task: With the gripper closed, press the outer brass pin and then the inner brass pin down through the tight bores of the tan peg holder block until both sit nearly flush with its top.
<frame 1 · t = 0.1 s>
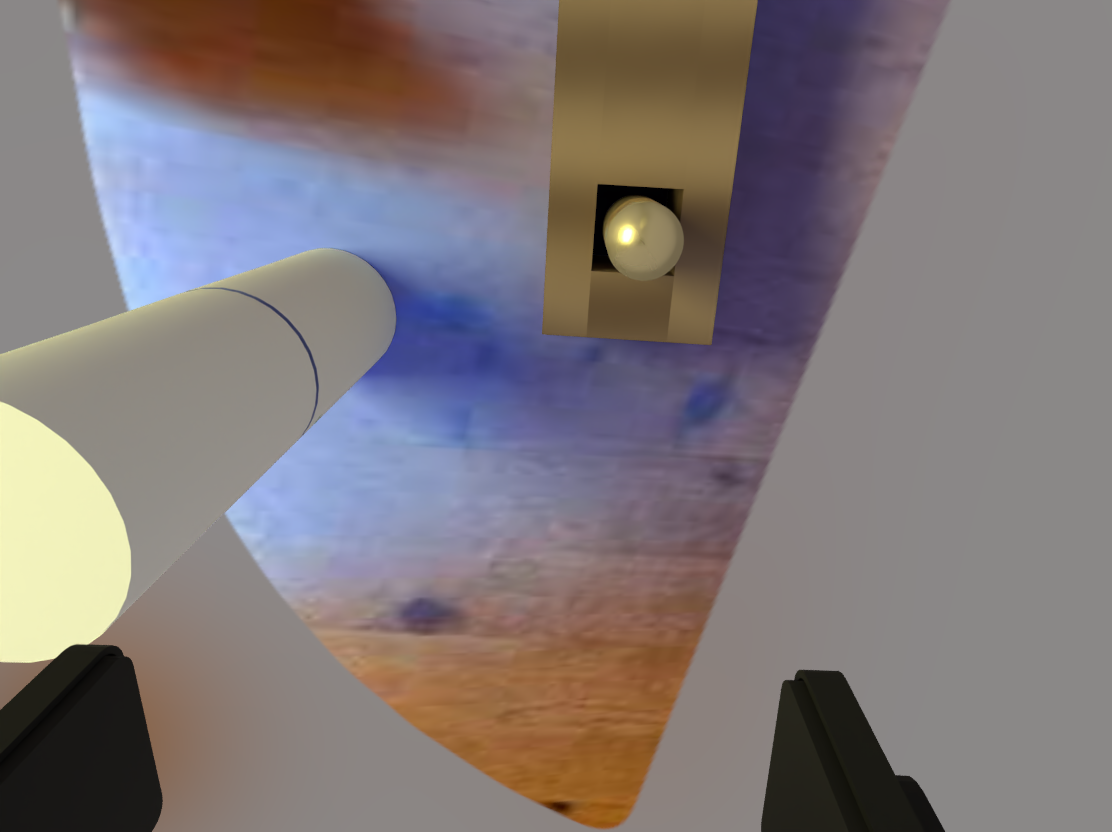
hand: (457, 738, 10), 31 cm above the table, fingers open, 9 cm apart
tan peg holder block: (641, 73, 35), on the table
cylindrical container: (333, 312, 40), on the table
outer brass pin: (639, 234, 31), point 7 cm above the table, slide at 0.0 cm
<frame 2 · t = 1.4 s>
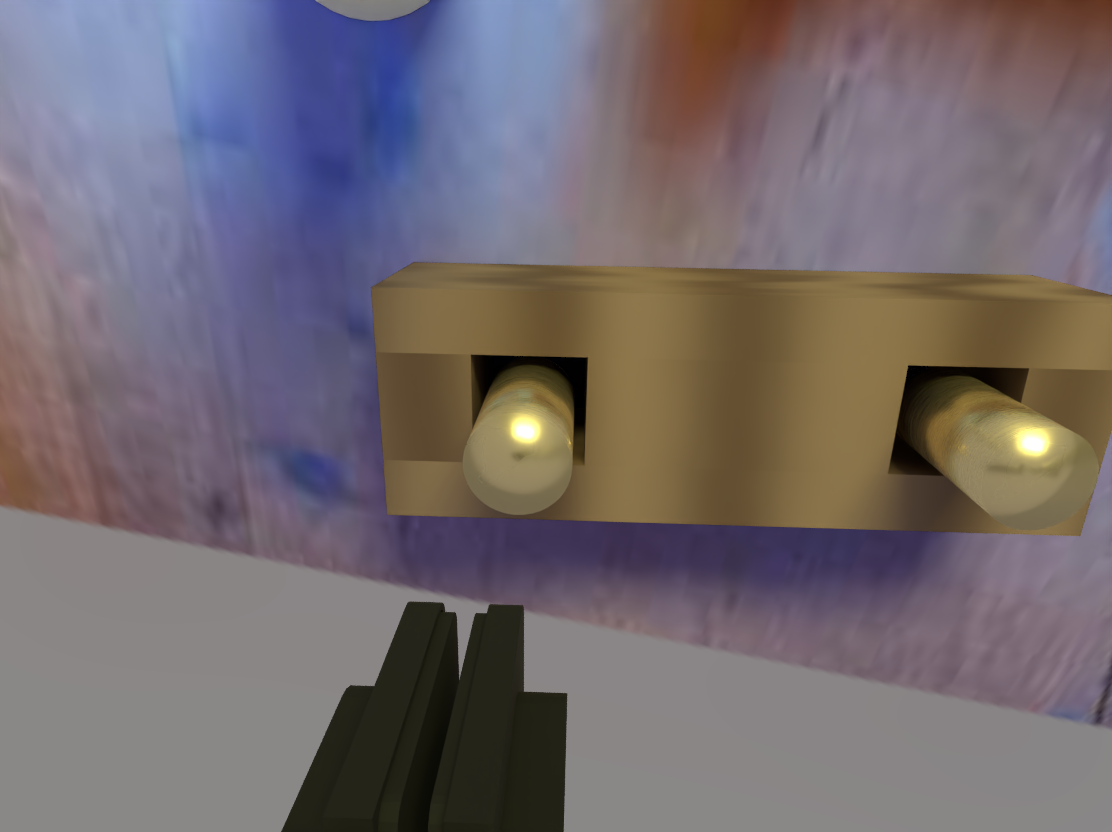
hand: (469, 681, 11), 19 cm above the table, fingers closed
tan peg holder block: (710, 367, 29), on the table
outer brass pin: (525, 427, 22), point 8 cm above the table, slide at 0.0 cm
inner brass pin: (980, 439, 22), point 7 cm above the table, slide at 0.0 cm
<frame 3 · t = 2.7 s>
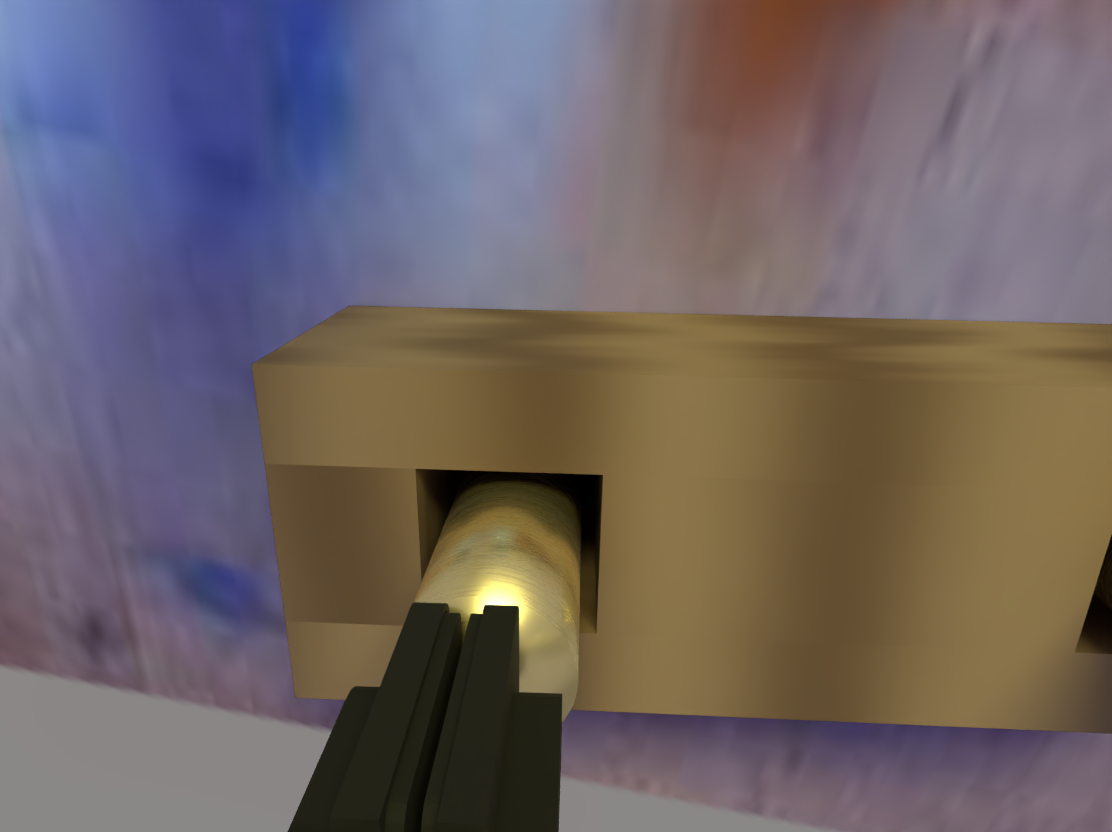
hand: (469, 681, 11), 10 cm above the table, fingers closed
tan peg holder block: (774, 454, 20), on the table
outer brass pin: (504, 576, 14), point 7 cm above the table, slide at 0.7 cm, touching gripper
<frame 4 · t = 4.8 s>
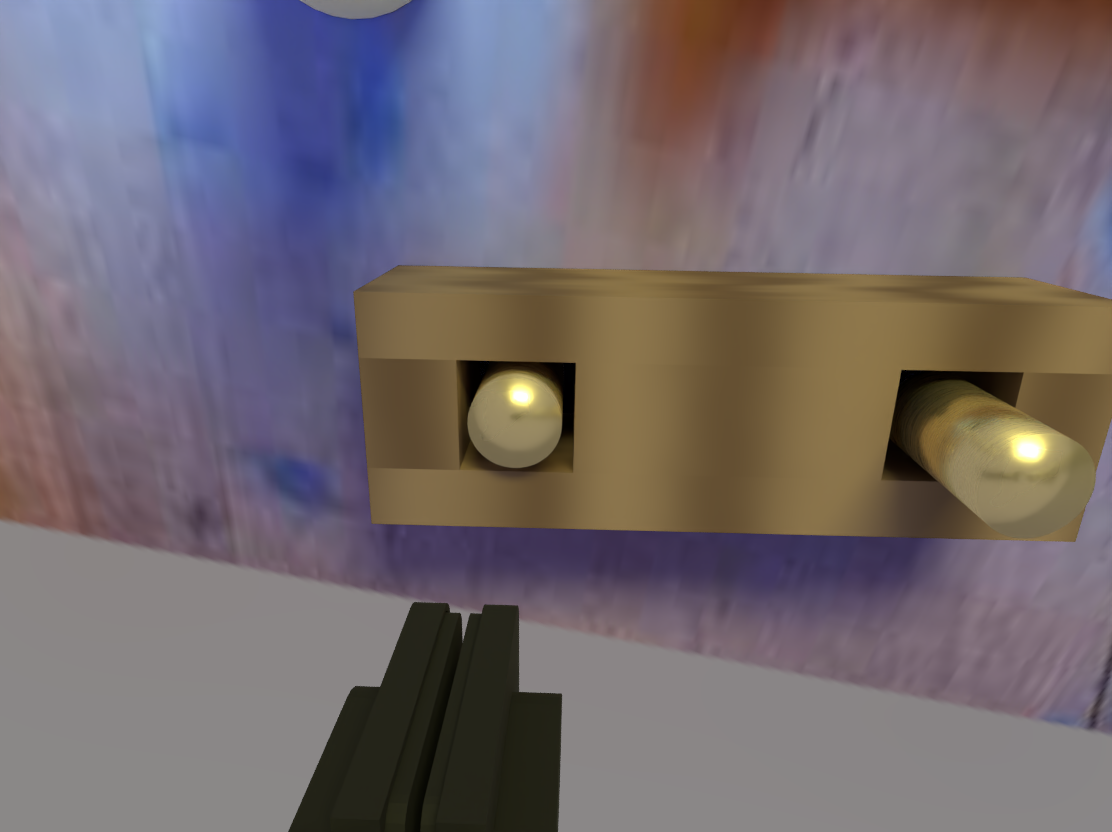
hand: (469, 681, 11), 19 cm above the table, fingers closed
tan peg holder block: (700, 371, 29), on the table
outer brass pin: (521, 395, 25), point 4 cm above the table, slide at 3.9 cm
inner brass pin: (975, 445, 22), point 7 cm above the table, slide at 0.0 cm
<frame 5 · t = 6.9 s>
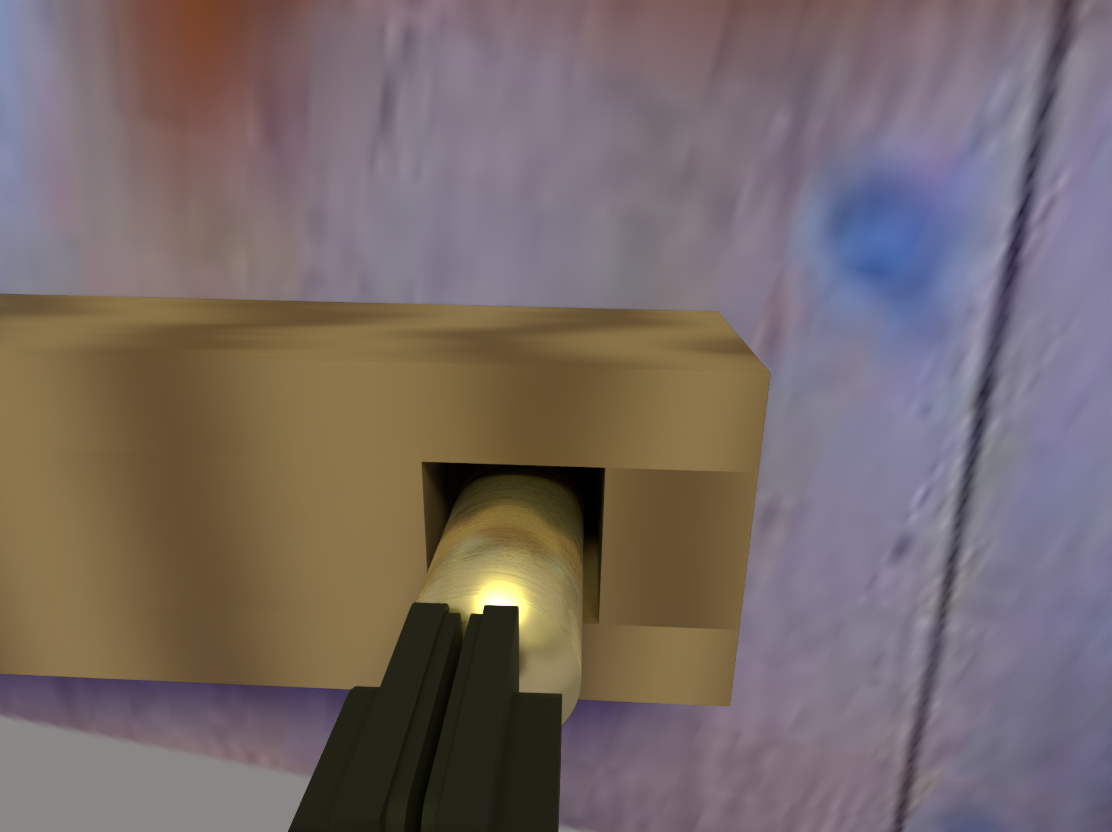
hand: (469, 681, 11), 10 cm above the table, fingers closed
tan peg holder block: (299, 434, 21), on the table
inner brass pin: (507, 575, 14), point 7 cm above the table, slide at 0.4 cm, touching gripper
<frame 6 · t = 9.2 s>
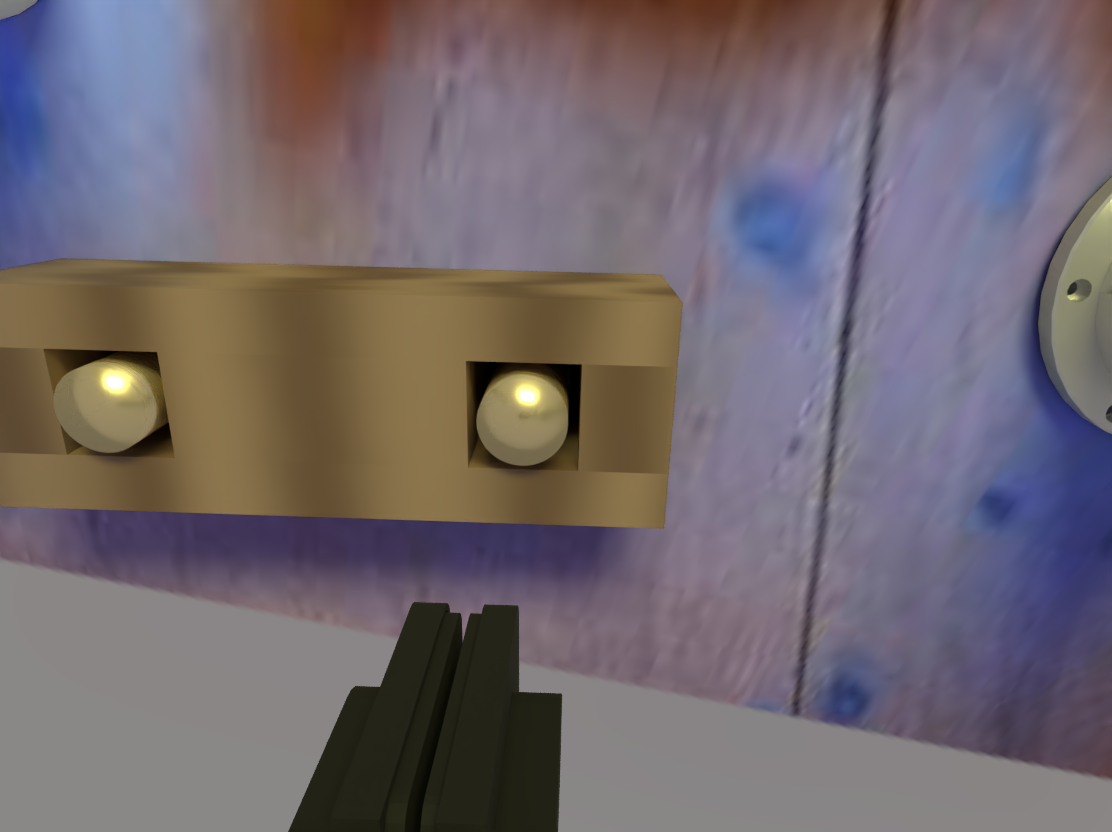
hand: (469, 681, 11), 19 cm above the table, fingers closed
tan peg holder block: (365, 363, 30), on the table
outer brass pin: (150, 384, 26), point 4 cm above the table, slide at 3.9 cm
inner brass pin: (528, 395, 26), point 4 cm above the table, slide at 3.9 cm
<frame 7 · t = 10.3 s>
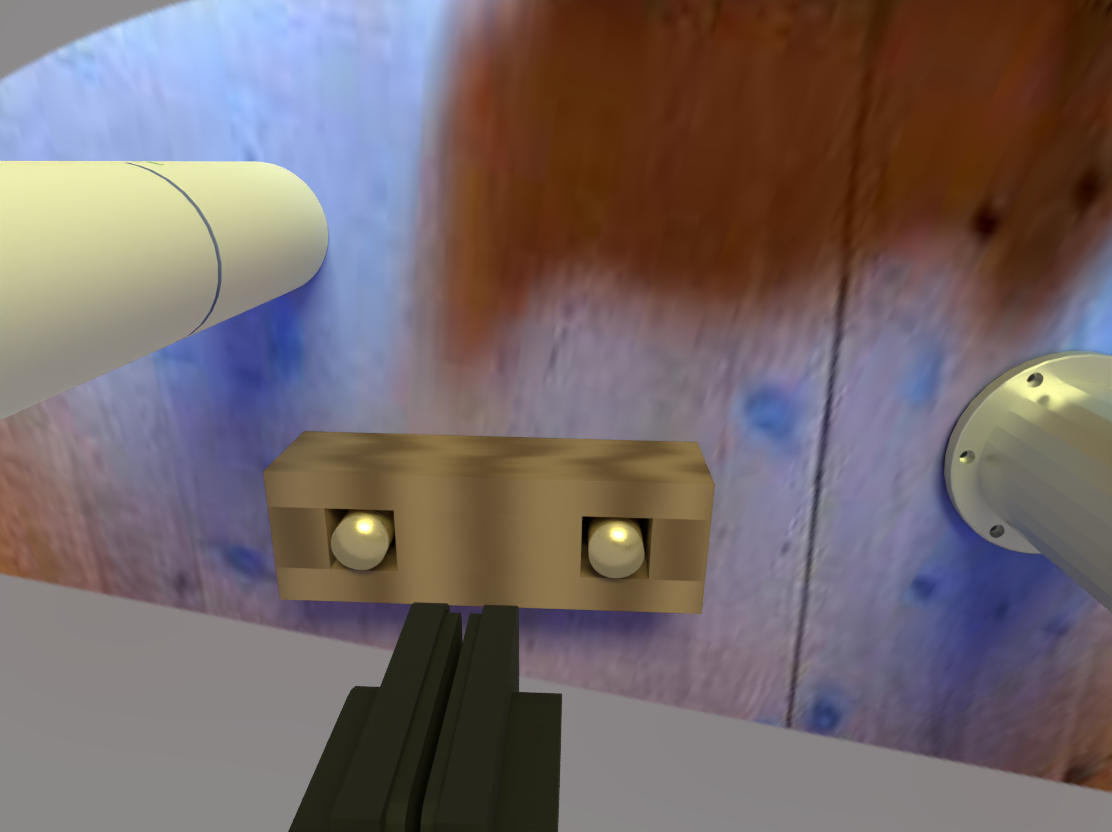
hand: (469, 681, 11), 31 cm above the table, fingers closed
tan peg holder block: (499, 496, 45), on the table
cylindrical container: (266, 229, 40), on the table
outer brass pin: (373, 519, 42), point 4 cm above the table, slide at 3.9 cm
inner brass pin: (614, 527, 41), point 4 cm above the table, slide at 3.9 cm
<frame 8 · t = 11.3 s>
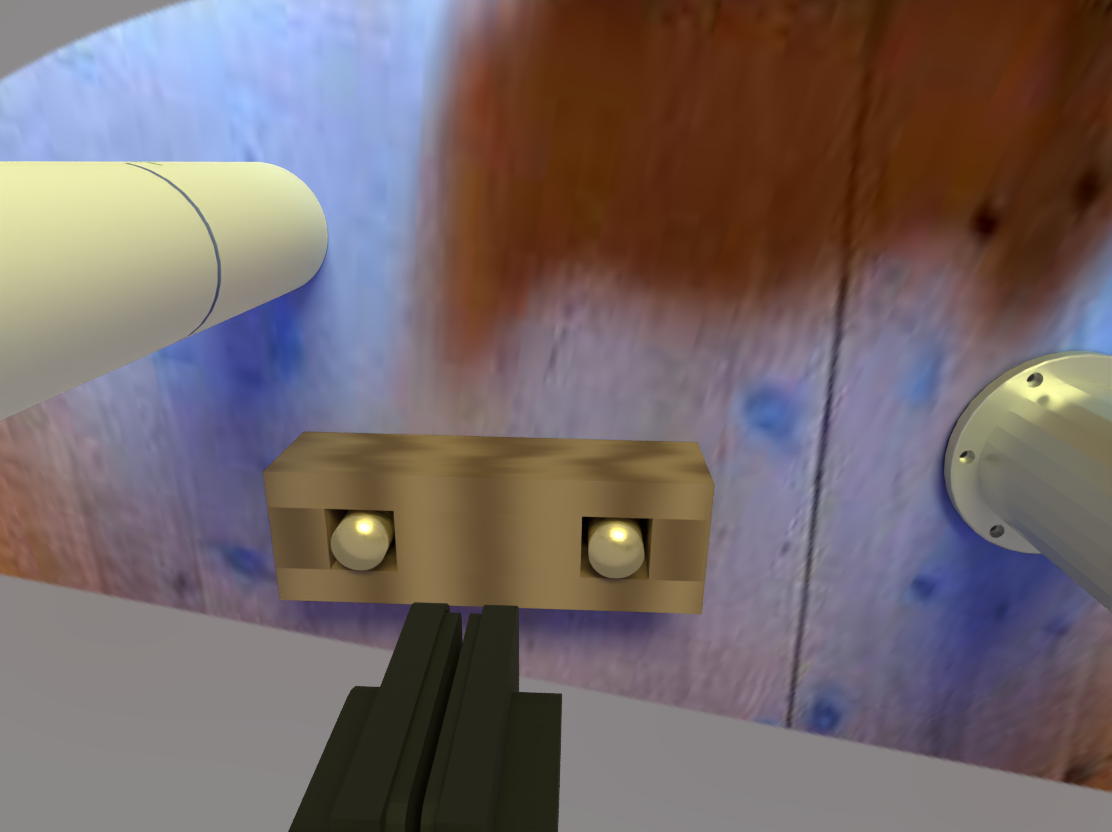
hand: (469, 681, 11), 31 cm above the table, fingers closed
tan peg holder block: (499, 496, 45), on the table
cylindrical container: (265, 229, 40), on the table
outer brass pin: (373, 520, 42), point 4 cm above the table, slide at 3.9 cm
inner brass pin: (613, 527, 41), point 4 cm above the table, slide at 3.9 cm
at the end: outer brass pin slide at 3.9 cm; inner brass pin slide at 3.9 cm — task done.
